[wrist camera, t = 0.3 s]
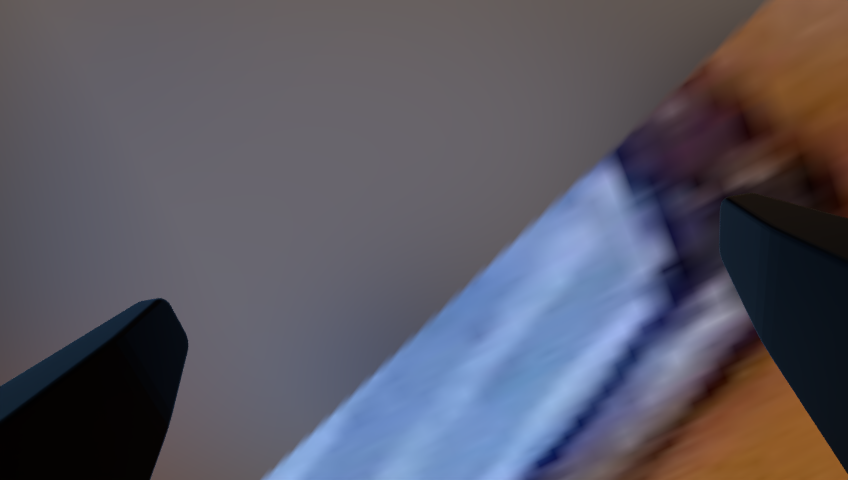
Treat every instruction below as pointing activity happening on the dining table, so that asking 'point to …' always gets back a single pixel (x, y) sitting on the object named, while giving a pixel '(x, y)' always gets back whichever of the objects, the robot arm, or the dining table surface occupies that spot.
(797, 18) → the dining table surface
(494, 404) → the dining table surface
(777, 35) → the dining table surface
